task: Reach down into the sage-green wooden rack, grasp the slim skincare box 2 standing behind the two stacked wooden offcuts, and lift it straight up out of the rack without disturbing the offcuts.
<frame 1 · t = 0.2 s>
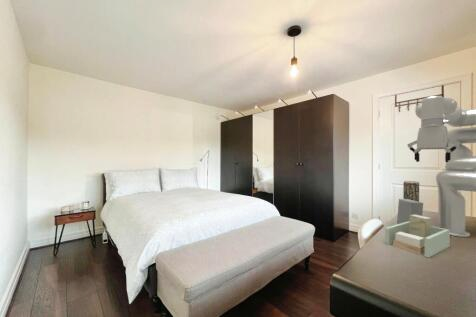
hand: (431, 161, 93), 36 cm above the table, tool pointing down, fingers open, 9 cm apart
offcut upper: (409, 242, 85), point 3 cm above the table, touching offcut lower
skincare box 2: (419, 244, 89), resting in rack
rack: (417, 245, 88), on the table
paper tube: (411, 226, 115), on the table
offcut lower: (409, 249, 84), on the table, touching offcut upper
skincare box: (409, 230, 108), on the table
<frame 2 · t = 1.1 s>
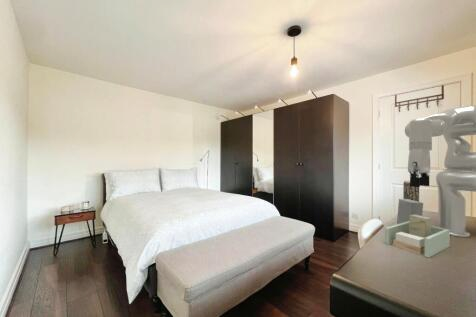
hand: (419, 186, 90), 25 cm above the table, tool pointing down, fingers open, 9 cm apart
nothing on the table moved.
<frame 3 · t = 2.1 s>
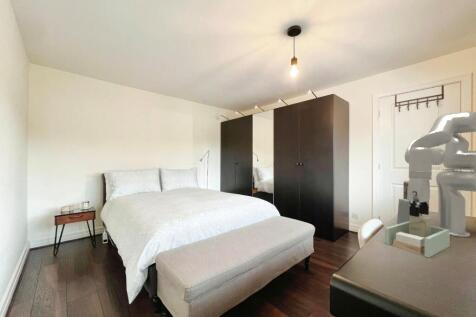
hand: (419, 215, 89), 13 cm above the table, tool pointing down, fingers open, 9 cm apart
nothing on the table moved.
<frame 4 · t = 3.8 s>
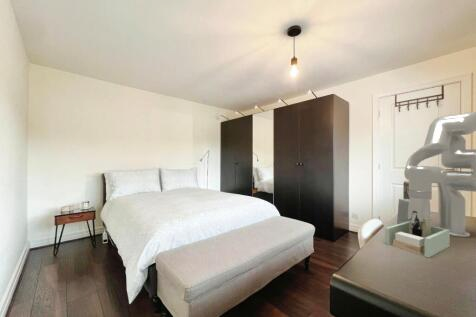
hand: (419, 236, 90), 3 cm above the table, tool pointing down, fingers closed on skincare box 2, 4 cm apart
skincare box 2: (419, 244, 89), resting in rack, touching gripper
everything else where it was.
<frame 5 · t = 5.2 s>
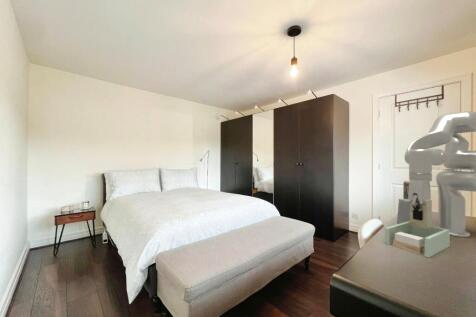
hand: (420, 218, 90), 11 cm above the table, tool pointing down, fingers closed on skincare box 2, 4 cm apart
offcut upper: (409, 242, 84), point 3 cm above the table
skincare box 2: (420, 226, 90), point 7 cm above the table, touching gripper
offcut lower: (408, 249, 85), on the table
everything else where it was.
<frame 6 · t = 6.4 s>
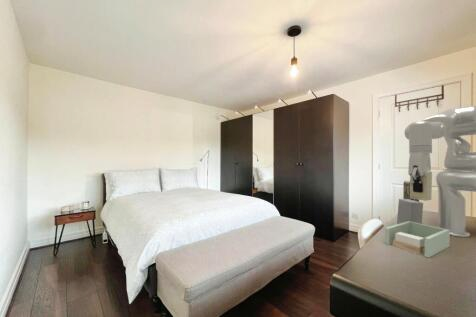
hand: (420, 191, 90), 23 cm above the table, tool pointing down, fingers closed on skincare box 2, 4 cm apart
offcut upper: (409, 242, 84), point 3 cm above the table, touching offcut lower
skincare box 2: (420, 199, 90), point 19 cm above the table, touching gripper
offcut lower: (408, 249, 85), on the table, touching offcut upper
everything else where it was.
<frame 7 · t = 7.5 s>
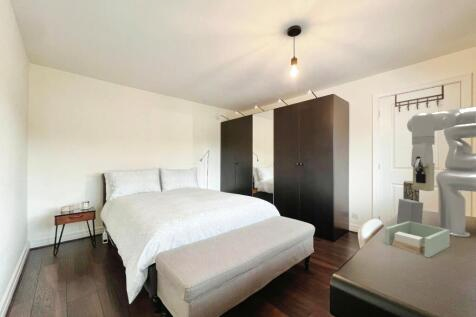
hand: (423, 182, 91), 27 cm above the table, tool pointing down, fingers closed on skincare box 2, 4 cm apart
skincare box 2: (423, 190, 91), point 23 cm above the table, touching gripper
everything else where it was.
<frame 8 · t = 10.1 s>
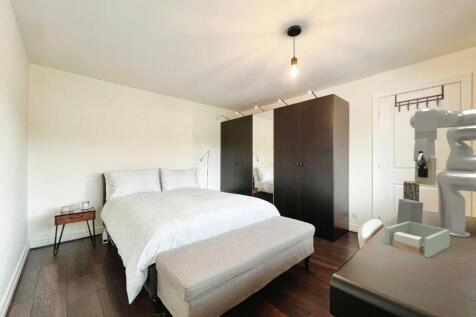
hand: (425, 176, 93), 29 cm above the table, tool pointing down, fingers closed on skincare box 2, 4 cm apart
skincare box 2: (425, 184, 93), point 26 cm above the table, touching gripper
everything else where it was.
at the end: skincare box 2 point 25.5 cm above the table; the gripper is holding skincare box 2; offcut upper moved 0.7 cm from its start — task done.
